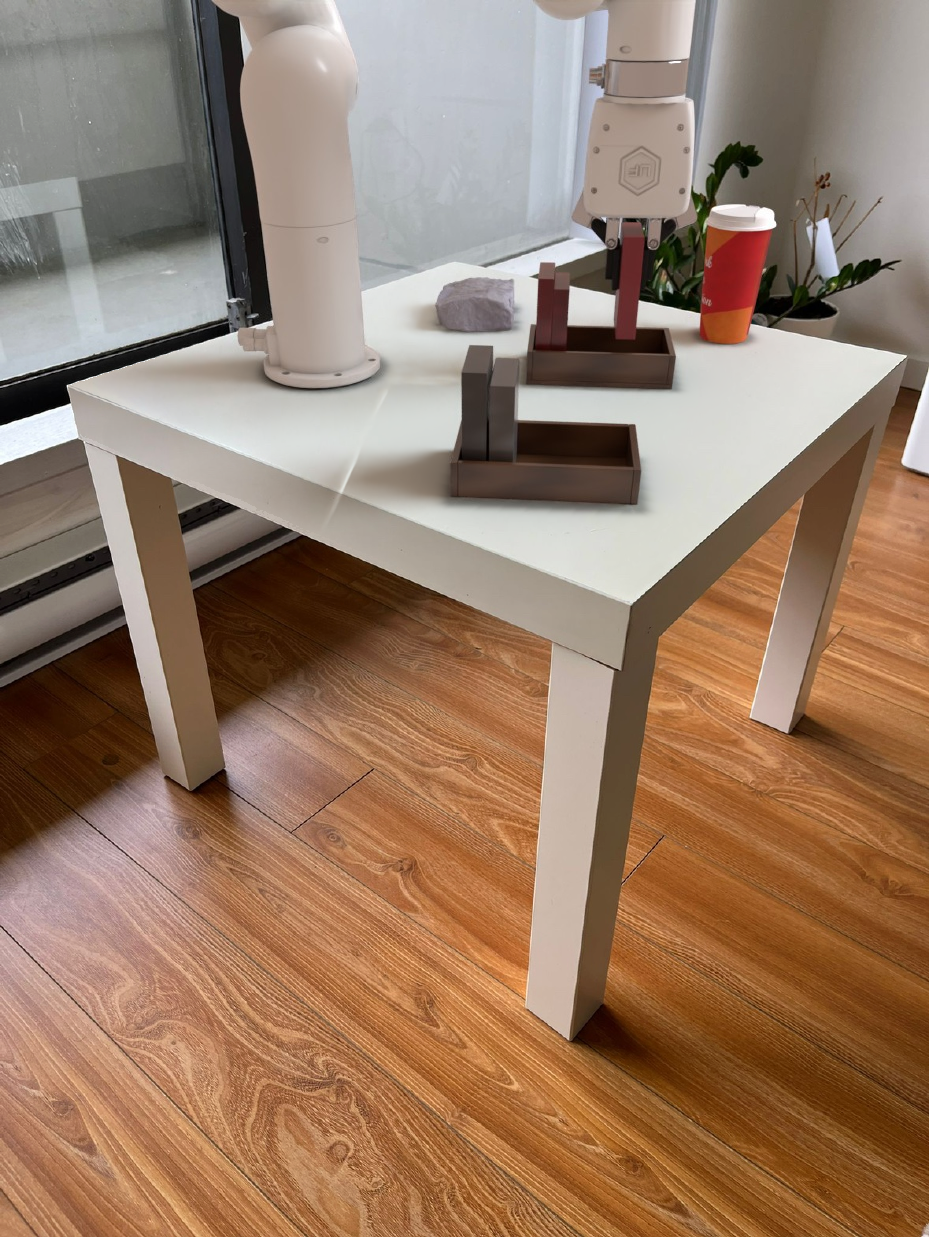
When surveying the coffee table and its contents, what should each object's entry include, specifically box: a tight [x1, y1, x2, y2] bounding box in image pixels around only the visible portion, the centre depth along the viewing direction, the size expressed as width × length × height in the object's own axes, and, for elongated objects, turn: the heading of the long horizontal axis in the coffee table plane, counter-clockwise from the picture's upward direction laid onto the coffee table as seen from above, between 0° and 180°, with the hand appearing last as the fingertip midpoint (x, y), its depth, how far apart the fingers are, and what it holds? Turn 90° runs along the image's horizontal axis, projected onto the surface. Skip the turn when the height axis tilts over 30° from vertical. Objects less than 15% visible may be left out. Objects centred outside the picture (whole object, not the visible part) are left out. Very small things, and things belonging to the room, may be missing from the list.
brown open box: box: [525, 261, 677, 390], centre depth 99 cm, size 15×9×10 cm, turn 84°
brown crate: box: [449, 344, 642, 506], centre depth 77 cm, size 15×9×10 cm, turn 84°
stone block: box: [434, 276, 515, 333], centre depth 117 cm, size 12×5×10 cm
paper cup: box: [699, 203, 777, 345], centre depth 107 cm, size 8×8×14 cm
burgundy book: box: [613, 221, 646, 340], centre depth 96 cm, size 2×6×10 cm, turn 174°
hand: (627, 285), depth 96 cm, fingers closed on burgundy book, 2 cm apart
